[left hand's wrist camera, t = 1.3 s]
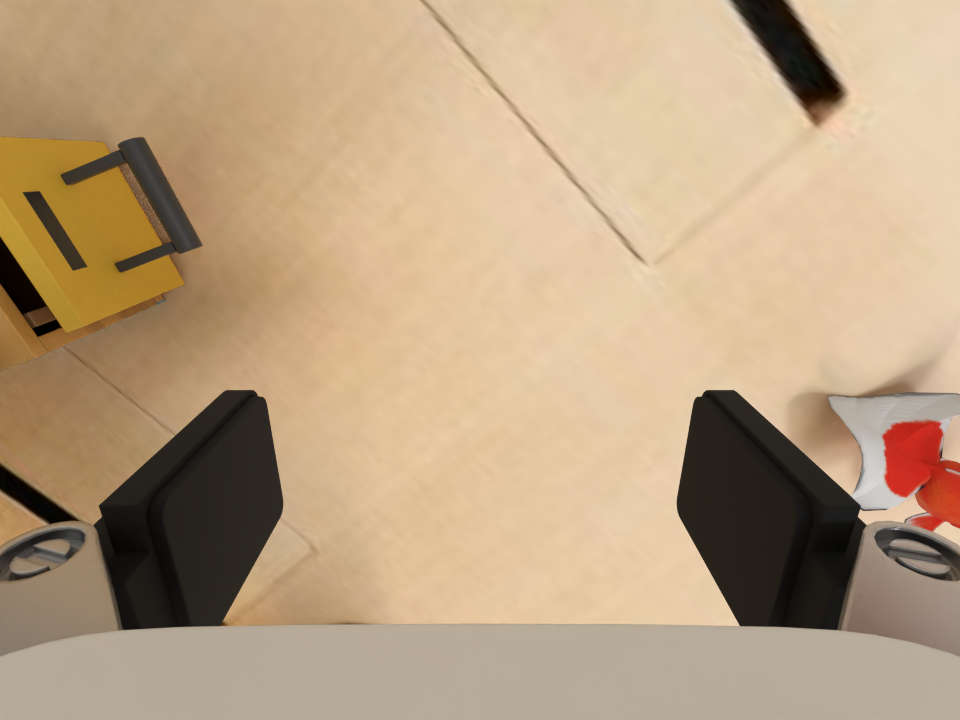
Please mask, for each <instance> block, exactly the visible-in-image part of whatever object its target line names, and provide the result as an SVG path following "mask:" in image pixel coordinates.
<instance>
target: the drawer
mask: <svg viewBox="0 0 960 720" xmlns="http://www.w3.org/2000/svg"><path fill="white" fill-rule="evenodd" d="M118 147H119V149H120V150H118V151H115V152H113V153H110V152H109V150H108V148H107V146H106V145H105V143H104V142H93V141H74V140H54V139H35V138H15V137H0V284H1V286H2V287H3V288H4V290H5V291H6V293H7V294H8V296H9V297H10V298H11V300H12V301H13V303H14V304H15V306H16V307H17V308H18V310H19V311H20V313H21V314H22V315H23V317H24V318H25V320H26V321H27V323H28V324H29V325H30V327H31V328H32V329H33V328H36V327H38V326H41V325H43V324H46V323H49V322H51V321H54V320H57V321H58V322H59V323H60V325H61V326H62V328H63V329H64V331H65V332H70V331H73V330H75V329H78V328H81V327H83V326H86V325H88V324H91V323H93V322H96V321H98V320H100V319H103V318H105V317H107V316H110V315H112V314H115V313H117V312H119V311H122V310H124V309H127V308H129V307H131V306H134V305H136V304H139V303H141V302H143V301H146V300H148V299H150V298H153V297H155V296H158V295H160V294H162V293H165V292H167V291H170V290H172V289H174V288H177V287H179V286H182V285H184V284H185V283H184V281H183V280H182V278H181V276H180V274H179V273H178V271H177V269H176V267H175V266H174V264H173V262H172V260H171V259H170V257H169V254H172V253H175V252H178V254H182V253H185V252H188V251H190V250H193V249H196V248H198V247H201V246H202V243H201V241H200V239H199V238H198V236H197V234H196V232H195V230H194V228H193V227H192V225H191V223H190V221H189V219H188V217H187V216H186V214H185V212H184V210H183V208H182V206H181V204H180V203H179V201H178V199H177V197H176V195H175V193H174V192H173V190H172V188H171V186H170V184H169V182H168V181H167V179H166V177H165V175H164V173H163V171H162V169H161V168H160V166H159V164H158V162H157V160H156V158H155V157H154V155H153V153H152V151H151V149H150V147H149V146H148V144H147V142H146V140H145V139H144V138H142V137H138V138H132V139H128V140H125V141H123V142H121V143H119V144H118ZM125 163H128V165H129V167H130V169H131V170H132V172H133V174H134V176H135V177H136V179H137V181H138V183H139V185H140V186H141V188H142V190H143V192H144V193H145V195H146V197H147V199H148V201H149V202H150V204H151V206H152V208H153V209H154V211H155V213H156V215H157V217H158V218H159V220H160V222H161V224H162V225H163V227H164V229H165V231H166V233H167V234H168V236H169V238H170V240H171V242H168V243H166V244H163V245H162V243H161V241H160V239H159V237H158V236H157V234H156V232H155V230H154V229H153V227H152V225H151V223H150V222H149V220H148V218H147V216H146V215H145V213H144V211H143V209H142V208H141V206H140V204H139V202H138V201H137V199H136V197H135V195H134V194H133V192H132V190H131V188H130V187H129V185H128V183H127V181H126V180H125V178H124V176H123V174H122V173H121V171H120V169H119V167H118V166H120V165H123V164H125Z"/></svg>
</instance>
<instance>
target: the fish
mask: <svg viewBox="0 0 960 720" xmlns="http://www.w3.org/2000/svg"><path fill="white" fill-rule="evenodd" d="M827 398H828V401H829V403H830V406H831V408H832V409H833V410H834V411H835V413H836V414H837V415H838V416H839V417H840V419H841V420H842V421H843V422H844V423H845V425H846V426H847V428H848V429H849V430H850V432H851V433H852V435H853V436H854V438H855V439H856V441H857V442H858V444H859V445H860V447H861V454H862V467H861V473H860V478H859V480H858V483H857V485H856V488H855V490H854V493H853V494H852V495H851V497H852V498H853V499H854V500H855V501H857V502H858V503H859V504H860V505H861V508H860V509H861V510H863V511H872V510H887V509H889V508H892V507H894V506H896V505H899V504H900V503H902V502H903V501H905V500H907V499H908V498H910V497H911V496H912V495H914V494H915V497H916V499H917V502H918V504H919V505H920V507H922V508H923V509H924V510H925V511H927V512H926V513H921V514H917V515H914V516H911V517H909V518H907V519H905V523H906V524H910V525H914V526H917V527H921V528H924V529H926V530H929V531H931V532H933V531H934V530H935V529H936V528H937V527H938V526H939V525H941V524H942V523H943V522H945V521H946V522H949V523H950V524H951V525H953V526H955V527H957V528H960V463H958V462H955V461H949V460H946V459H944V458H942V449H943V438H944V434H945V432H946V430H947V428H948V426H949V423H950V421H951V419H952V418H953V417H954V416H956V415H959V414H960V394H957V393H900V394H890V395H880V396H869V397H859V398H856V397H848V396H829V397H827Z"/></svg>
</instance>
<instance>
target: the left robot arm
mask: <svg viewBox="0 0 960 720" xmlns="http://www.w3.org/2000/svg"><path fill="white" fill-rule="evenodd" d="M99 508H100V511H101V514H102V518H101V519H100V520H98V521H97V522H96V523H95V524H94V525H91V524H89V523H86V522H81V521H67V522H59V523H54V524H50V525H46V526H43V527H39V528H36V529H34V530H31V531H29V532H26V533H24V534H21V535H19V536H17V537H16V538H14V539H12V540H10V541H8V542H6V543H5V544H3V545H1V546H0V720H960V546H959V545H957V544H955V543H954V542H952V541H950V540H948V539H946V538H944V537H943V536H941V535H939V534H936V533H934V532H931V531H929V530H926V529H924V528H921V527H917V526H914V525H910V524H906V523H901V522H893V521H879V522H874V523H871V524H869V525H866V524H865V523H864V522H863V521H862V520H860V519H859V518H858V514H859V511H860V508H861V505H860V504H859V503H858V502H857V501H855V500H854V499H853V498H852V497H851V496H850V495H849V494H848V493H847V492H846V491H844V490H843V489H842V488H841V487H840V486H839V485H838V484H837V483H836V482H835V481H834V480H832V479H831V478H830V477H829V476H828V475H827V474H826V473H825V472H824V471H823V470H822V469H820V468H819V467H818V466H817V465H816V464H815V463H814V462H813V461H812V460H811V459H809V458H808V457H807V456H806V455H805V454H804V453H803V452H802V451H801V450H800V449H799V448H797V447H796V446H795V445H794V444H793V443H792V442H791V441H790V440H789V439H788V438H786V437H785V436H784V435H783V434H782V433H781V432H780V431H779V430H778V429H777V428H776V427H774V426H773V425H772V424H771V423H770V422H769V421H768V420H767V419H766V418H765V417H763V416H762V415H761V414H760V413H759V412H758V411H757V410H756V409H755V408H754V407H753V406H751V405H750V404H749V403H748V402H747V401H746V400H745V399H744V398H743V397H742V396H740V395H739V394H738V393H737V392H736V391H734V390H706V391H705V392H704V393H703V395H702V397H697V398H695V400H694V403H693V409H692V414H691V420H690V426H689V432H688V438H687V444H686V449H685V455H684V461H683V467H682V473H681V479H680V484H679V490H678V496H677V510H678V514H679V517H680V519H681V521H682V522H683V524H684V526H685V528H686V530H687V531H688V533H689V535H690V537H691V539H692V540H693V542H694V544H695V546H696V548H697V549H698V551H699V553H700V555H701V557H702V558H703V560H704V562H705V564H706V566H707V567H708V569H709V571H710V573H711V575H712V576H713V578H714V580H715V582H716V584H717V585H718V587H719V589H720V591H721V593H722V594H723V596H724V598H725V600H726V602H727V603H728V605H729V607H730V609H731V611H732V612H733V614H734V616H735V618H736V620H737V621H738V623H739V625H740V626H699V625H632V624H328V625H261V626H220V625H221V623H222V621H223V620H224V618H225V616H226V614H227V612H228V611H229V609H230V607H231V605H232V603H233V602H234V600H235V598H236V596H237V594H238V593H239V591H240V589H241V587H242V585H243V584H244V582H245V580H246V578H247V576H248V575H249V573H250V571H251V569H252V567H253V566H254V564H255V562H256V560H257V558H258V557H259V555H260V553H261V551H262V549H263V548H264V546H265V544H266V542H267V540H268V539H269V537H270V535H271V533H272V531H273V530H274V528H275V526H276V524H277V522H278V520H279V519H280V517H281V514H282V510H283V496H282V490H281V484H280V479H279V473H278V467H277V461H276V455H275V449H274V444H273V438H272V432H271V426H270V420H269V414H268V409H267V403H266V400H265V398H263V397H258V395H257V393H256V392H255V391H254V390H226V391H224V392H223V393H222V394H221V395H220V396H218V397H217V398H216V399H215V400H214V401H213V402H212V403H211V404H210V405H209V406H207V407H206V408H205V409H204V410H203V411H202V412H201V413H200V414H199V415H198V416H197V417H195V418H194V419H193V420H192V421H191V422H190V423H189V424H188V425H187V426H186V427H184V428H183V429H182V430H181V431H180V432H179V433H178V434H177V435H176V436H175V437H174V438H172V439H171V440H170V441H169V442H168V443H167V444H166V445H165V446H164V447H163V448H161V449H160V450H159V451H158V452H157V453H156V454H155V455H154V456H153V457H152V458H151V459H149V460H148V461H147V462H146V463H145V464H144V465H143V466H142V467H141V468H140V469H138V470H137V471H136V472H135V473H134V474H133V475H132V476H131V477H130V478H129V479H128V480H126V481H125V482H124V483H123V484H122V485H121V486H120V487H119V488H118V489H117V490H116V491H114V492H113V493H112V494H111V495H110V496H109V497H108V498H107V499H106V500H105V501H103V502H102V503H101V504H100V505H99Z"/></svg>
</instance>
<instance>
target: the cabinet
mask: <svg viewBox="0 0 960 720" xmlns="http://www.w3.org/2000/svg"><path fill="white" fill-rule="evenodd" d="M163 301H166V300H165V299H164V298H163V296H162V295H161V294H160V295H158V296H155V297H153V298H150V299H148V300H146V301H143V302H141V303H139V304H136V305H134V306H131V307H129V308H127V309H124V310H122V311H119V312H117V313H115V314H112V315H110V316H107V317H105V318H103V319H100V320H98V321H96V322H93V323H91V324H88V325H86V326H83V327H81V328H78V329H75V330H73V331H70V332H65V331H64V329H63V328H62V326H61V325H60V323H59V322H58V321H57V320H54V321H51V322H49V323H46V324H43V325H41V326H38V327H36V328H33V329H32V328H31V327H30V325H29V324H28V323H27V321H26V320H25V318H24V317H23V315H22V314H21V313H20V311H19V310H18V308H17V307H16V306H15V304H14V303H13V301H12V300H11V298H10V297H9V296H8V294H7V293H6V291H5V290H4V288H3V287H2V286H1V284H0V371H2V370H5V369H7V368H10V367H13V366H16V365H18V364H21V363H24V362H26V361H29V360H32V359H34V358H37V357H39V356H41V355H44V354H46V353H48V352H50V351H53V350H55V349H57V348H59V347H62V346H64V345H66V344H68V343H71V342H73V341H75V340H77V339H80V338H82V337H84V336H86V335H89V334H91V333H93V332H95V331H98V330H100V329H102V328H104V327H107V326H109V325H111V324H113V323H116V322H118V321H120V320H122V319H125V318H127V317H129V316H131V315H134V314H136V313H138V312H140V311H143V310H145V309H147V308H149V307H152V306H154V305H156V304H159V303H161V302H163Z"/></svg>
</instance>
